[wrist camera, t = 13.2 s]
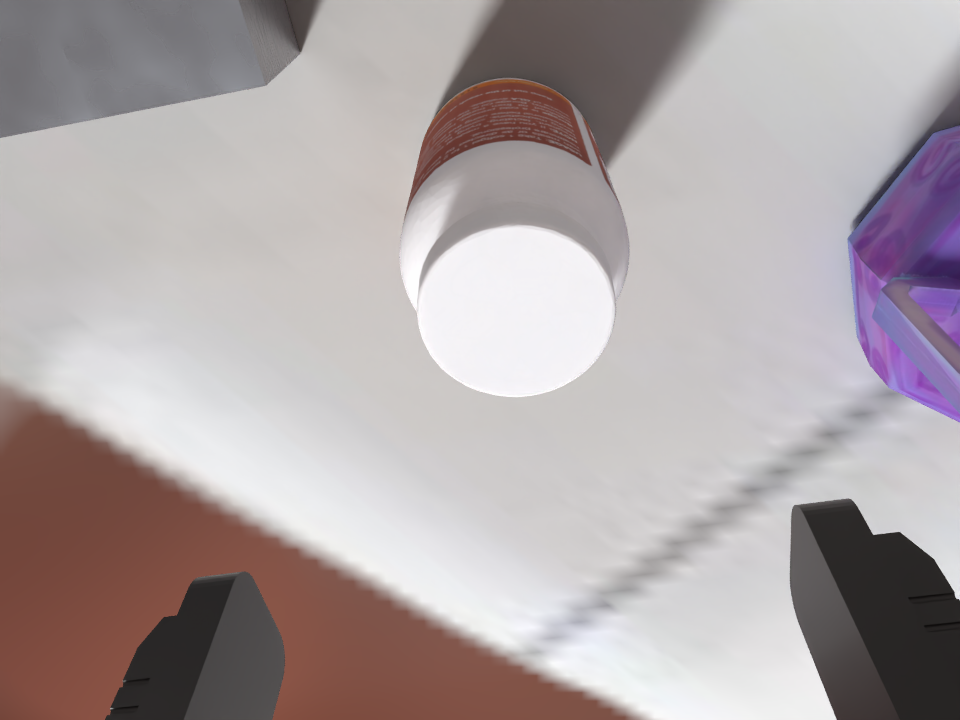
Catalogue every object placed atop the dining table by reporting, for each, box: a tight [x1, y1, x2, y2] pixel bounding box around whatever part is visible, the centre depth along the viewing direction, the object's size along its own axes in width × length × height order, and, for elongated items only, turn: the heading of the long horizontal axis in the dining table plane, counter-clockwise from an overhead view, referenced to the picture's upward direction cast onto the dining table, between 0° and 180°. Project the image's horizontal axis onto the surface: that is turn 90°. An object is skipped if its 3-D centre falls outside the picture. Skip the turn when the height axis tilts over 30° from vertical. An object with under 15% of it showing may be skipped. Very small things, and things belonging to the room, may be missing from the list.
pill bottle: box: [399, 78, 629, 397], centre depth 23 cm, size 6×6×11 cm
